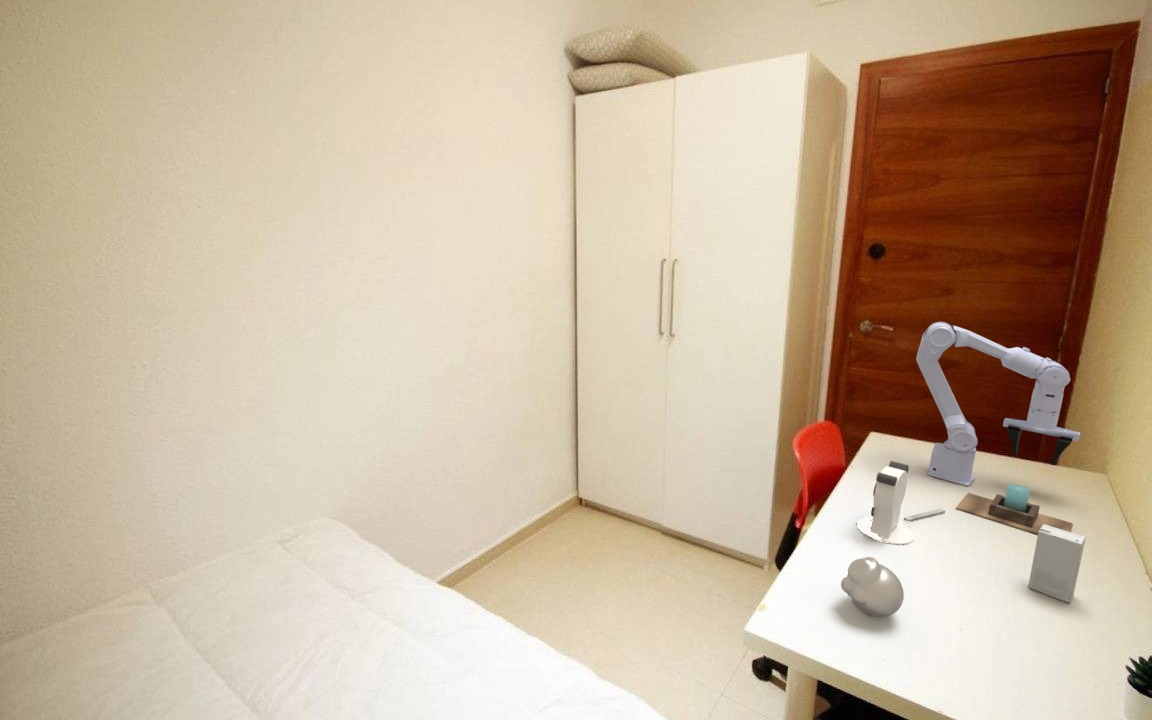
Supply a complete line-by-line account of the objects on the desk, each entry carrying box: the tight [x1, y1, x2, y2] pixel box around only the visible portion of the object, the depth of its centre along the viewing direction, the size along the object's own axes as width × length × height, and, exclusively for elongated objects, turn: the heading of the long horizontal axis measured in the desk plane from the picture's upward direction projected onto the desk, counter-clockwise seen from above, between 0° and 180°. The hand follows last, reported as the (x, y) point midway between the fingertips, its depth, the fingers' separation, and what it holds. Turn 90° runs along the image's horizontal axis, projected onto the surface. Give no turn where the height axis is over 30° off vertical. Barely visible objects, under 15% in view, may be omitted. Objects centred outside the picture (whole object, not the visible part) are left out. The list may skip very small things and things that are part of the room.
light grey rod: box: [903, 508, 946, 522], centre depth 122 cm, size 12×1×1 cm, turn 110°
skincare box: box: [1027, 524, 1086, 604], centre depth 94 cm, size 6×4×12 cm
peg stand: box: [955, 492, 1073, 536], centre depth 122 cm, size 20×12×3 cm, turn 41°
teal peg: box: [1003, 483, 1031, 513], centre depth 122 cm, size 4×4×7 cm
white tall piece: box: [869, 460, 915, 545], centre depth 115 cm, size 12×11×15 cm
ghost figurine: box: [840, 556, 905, 618], centre depth 89 cm, size 9×10×10 cm
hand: (1033, 459), depth 133 cm, fingers open, 7 cm apart
